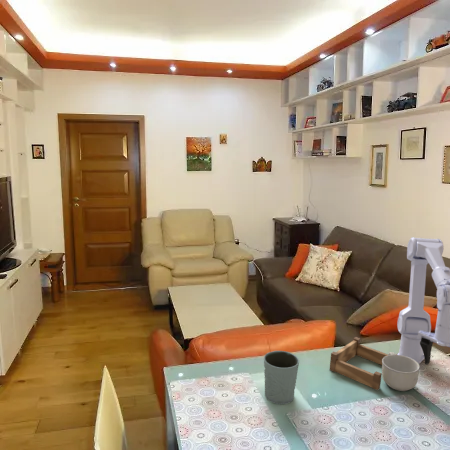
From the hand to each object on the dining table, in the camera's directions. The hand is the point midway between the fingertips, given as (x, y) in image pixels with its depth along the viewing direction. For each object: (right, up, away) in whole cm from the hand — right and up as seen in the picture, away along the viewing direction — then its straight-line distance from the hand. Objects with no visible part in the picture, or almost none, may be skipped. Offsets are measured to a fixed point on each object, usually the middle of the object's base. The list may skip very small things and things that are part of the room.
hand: (440, 368), depth 127 cm
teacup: (-9, -8, +10) cm, 16 cm away
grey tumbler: (-48, -9, 0) cm, 49 cm away
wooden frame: (-16, -6, +17) cm, 24 cm away
